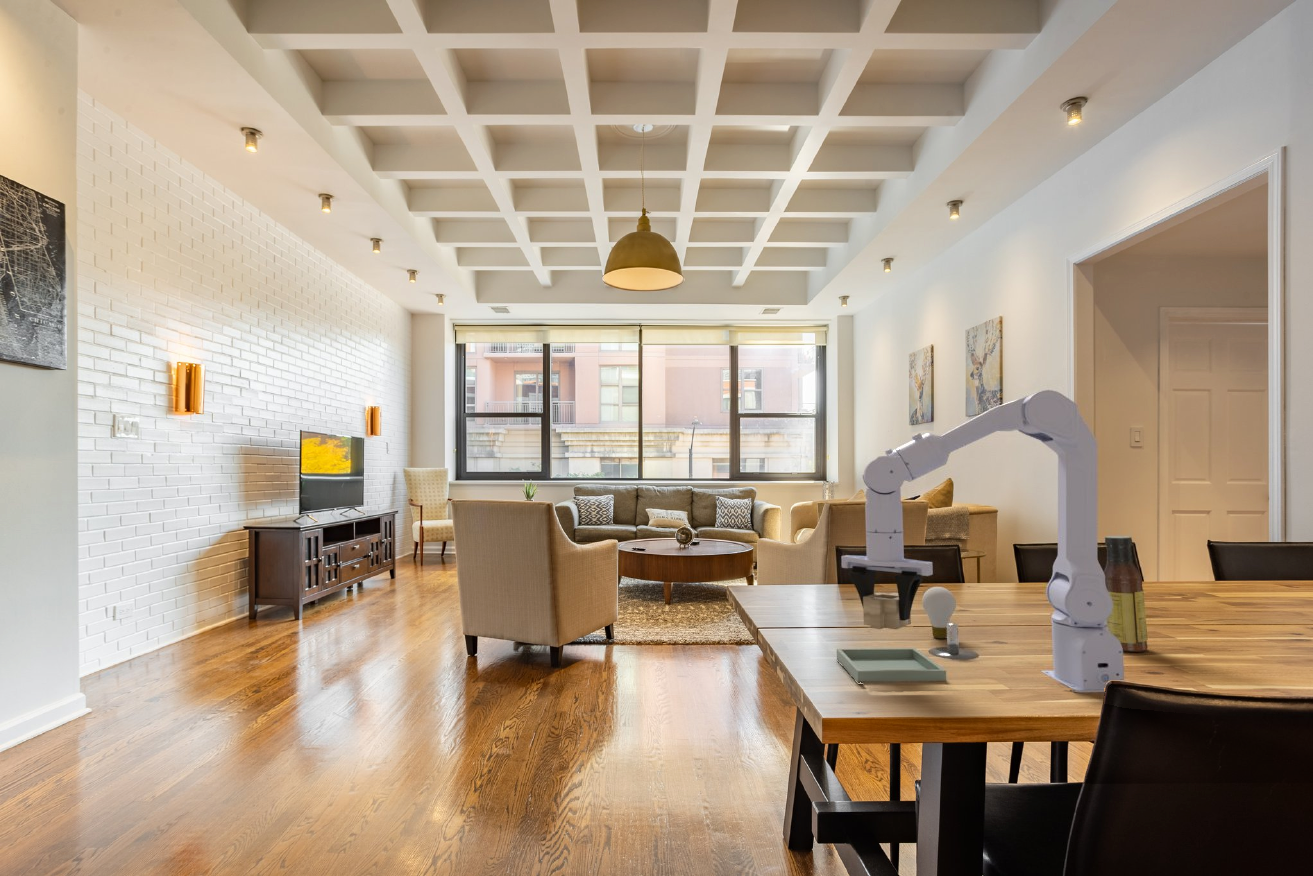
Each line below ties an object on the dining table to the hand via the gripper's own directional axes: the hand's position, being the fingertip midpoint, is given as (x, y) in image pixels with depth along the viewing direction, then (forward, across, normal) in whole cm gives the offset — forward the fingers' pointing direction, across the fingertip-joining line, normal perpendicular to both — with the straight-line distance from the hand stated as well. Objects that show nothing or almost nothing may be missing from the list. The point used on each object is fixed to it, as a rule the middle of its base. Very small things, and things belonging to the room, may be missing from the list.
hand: (886, 616), depth 111 cm
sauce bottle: (+9, -25, -41) cm, 49 cm away
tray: (+9, 0, 0) cm, 9 cm away
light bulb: (+9, +2, -26) cm, 27 cm away
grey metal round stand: (+9, -4, -16) cm, 19 cm away
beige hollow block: (+1, 0, 0) cm, 1 cm away
